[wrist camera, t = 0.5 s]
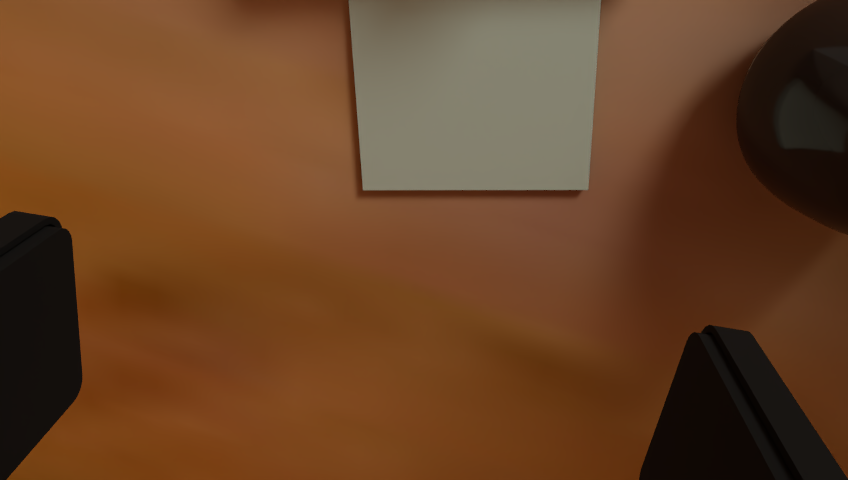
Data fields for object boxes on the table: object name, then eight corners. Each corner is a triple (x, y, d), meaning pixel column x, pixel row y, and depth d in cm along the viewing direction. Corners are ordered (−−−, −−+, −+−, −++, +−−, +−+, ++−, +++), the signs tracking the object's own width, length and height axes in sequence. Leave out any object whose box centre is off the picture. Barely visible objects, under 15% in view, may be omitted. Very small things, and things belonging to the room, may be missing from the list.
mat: (599, -13, 33) (601, -12, 32) (586, 184, 37) (588, 189, 36) (351, -6, 34) (348, -5, 33) (365, 185, 38) (362, 190, 38)
